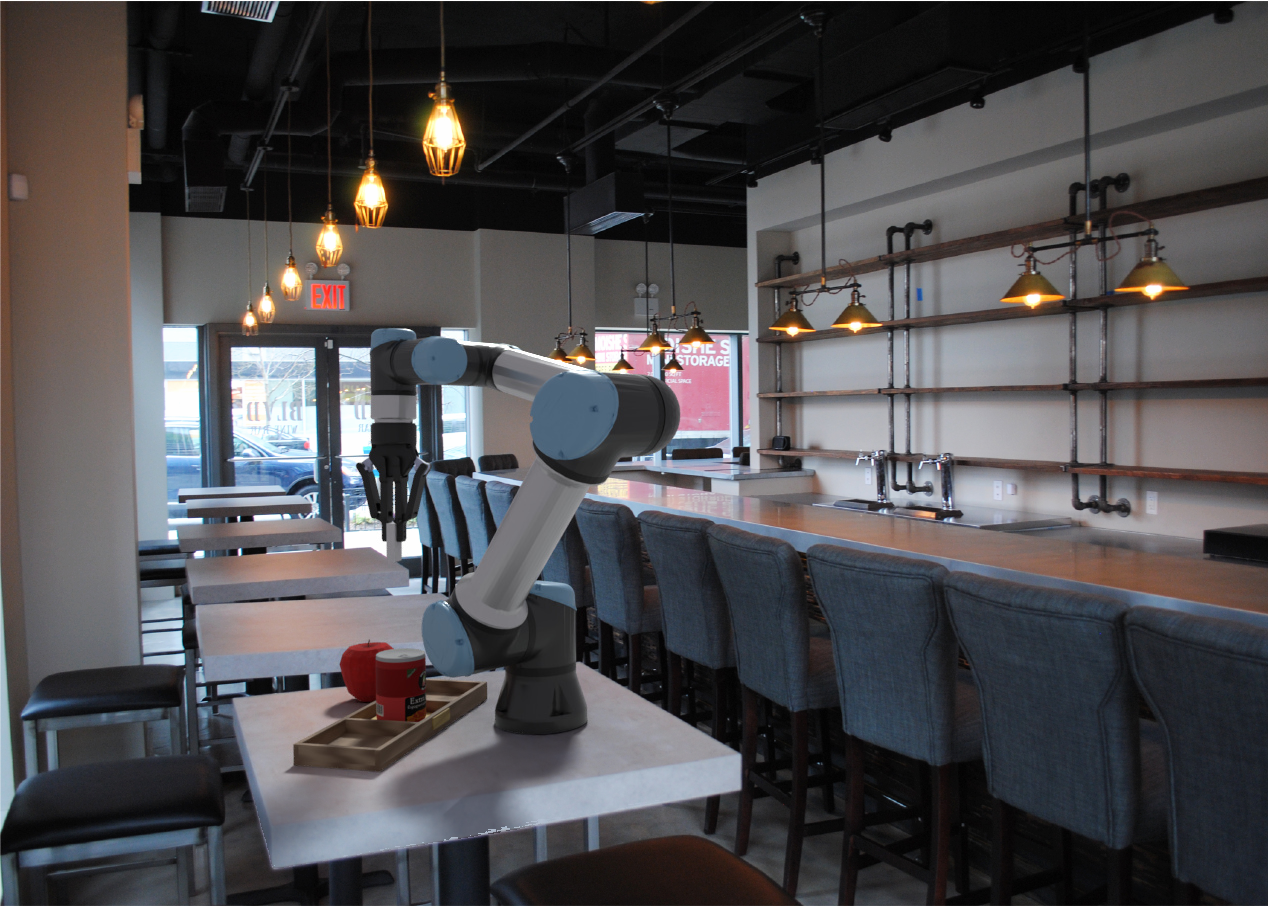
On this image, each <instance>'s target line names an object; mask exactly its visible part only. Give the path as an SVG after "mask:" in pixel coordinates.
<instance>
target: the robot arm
mask: <svg viewBox="0 0 1268 906" xmlns="http://www.w3.org/2000/svg"><path fill="white" fill-rule="evenodd" d="M370 337H371V338H370V349H369V367H370V368H369V369H370V370H369V371H370V374H369V375H370V378H369V379H370V419H372V420H374V422H371V424H370V444H371V449H370V451H369V453H368V457H367V458H366V459H364V460H363V461H361V462H357V463H356V464H355V468H356V470H357V472H358V473H359V475H360V476H361V480H362V486H363V489H364V493H365V498H366V502H367V506H368V510H369V511H368V512H369V516H370V518H371V519H372V520H374V519H375V520H378V521H379V522H380V524H381V541H382V542H386V563H398V562H401V561H402V558H403V555H402V554H403V553H402V551H403V550H402V549H403V548H402V547H403V545H402V544H403V542H406V540H407V523H408V521H410V520H413V519H416V518H418V515H419V512H420V510H419V509H420V506H421V501H422V497H423V493H424V490H425V489H424V487H425V484H426V479H427V476H428V474H429V473H430V472H431V470H432V468H433V465H432V463H430V462H426V461H425V460H423V459H421V458H420V454H419V451H418V450H417V442H418V439H417V437H418V436H417V432H418V431H417V430H418V429H417V428H418V427H417V424H416V422H413V421H415V420H416V419H417V386H419V385H420V386H424V385H435V386H456V387H458V386H459V387H479V388H487V389H491V390H494V391H497V392H501V393H506V394H508V395H511V396H513V397H517V398H520V399H523V400H525V401H529V402H532V404H531V407H530V412H529V416H530V417H532V421H531V422H529V430H530V435H531V439H532V441H531V448H532V452H533V453H534V455H535V458H534V460H533V462H532V464H531V465H530V468H529V470H528V471H527V473H526V475H525V476H524V479H523V481H522V483H521V485H520V486H519V488H518V490H517V492H516V493H515V496H513V497H514V498H513V499H512V502H511V503H510V505H509V507H508V509H507V510H506V513H505V514H504V516H503V518H502V520H501V522H500V523H499V526H498V528H497V529H496V532H495V533H494V535H493V537H492V538H491V541H490V543H489V545H488V547H487V548H486V550H485V551H484V554H483V555H482V557H481V559H480V562H479V563H478V565H477V567H476V569H475V570H474V572H468V573H466V574H465V575H463V576H462V577H461V578H460V579H458V581H457V583H456V585H455V587H454V588H453V591H452V592H451V594H450V596H449V597H448V598H447V599H445V600H442V599H438V600H436V601H433V602H432V603H430V604H429V605H428V606H427V607H426V608H425V610H424V612H423V616H422V619H421V630H420V631H421V637H422V642H423V643H422V644H423V647H424V648H423V649H424V652H425V655H427V656H426V657H427V658H428V660H429V662H430V663H431V666H433V668H434V669H435V670H436V671H437V672H438V673H439V674H441V675H442V676H445V677H447V678H448V677H449V678H450V679H451V678H454V679H455V678H458V677H459V678H460V677H467V678H468V677H470V676H472V675H476V674H477V675H478V674H480V673H484V672H489V671H492V670H497V669H500V668H505V669H504V678H503V680H502V681H503V682H502V684H501V685H502V686H501V689H500V692H499V693H498V699H497V702H496V705H495V707H494V724H495V726H496V727H497V728H499V729H500V730H503V731H506V732H508V733H509V732H510V733H516V734H521V735H522V734H524V735H547V734H556V733H562V732H563V733H564V732H568V731H571V730H574V729H577V728H580V727H582V726H584V725H585V724H586V723H587V722H588V704H587V701H586V698H585V696H584V692H583V689H582V687H581V683H580V681H579V677H578V674H577V610H578V609H577V607H576V595H575V594H576V593H575V590H574V589H573V587H572V586H571V585H569V584H567V583H563V582H556V581H547V580H537V579H538V578H539V577H540V575H541V573H542V572H543V570H544V567H546V564H547V563H548V561H549V559H550V557H551V556H552V555H553V554H552V553H554V550H555V549H556V547H557V545H558V544H559V542H560V540H561V538H562V537H563V535H564V533H565V532H566V529H567V528H568V526H569V524H570V522H571V521H572V519H573V518H574V515H576V514H575V513H576V512H577V511H578V508H579V506H580V505H581V504H582V502H583V500H584V498H585V496H586V495H587V493H588V492H589V489H590V488H591V487H597V486H601V485H603V484H604V483H605V482H606V481H607V480H608V479H609V476H610V475H611V473H612V472H613V470H614V468H615V466H616V464H617V463H618V462H619V460H620V459H621V458H637V457H639V458H640V457H647V456H650V455H653V454H656V453H658V452H659V451H661V450H663V449H664V448H666V446H667V445H669V444H670V443H671V441H672V440H673V439H674V437H675V436H676V434H677V432H678V429H679V426H680V422H681V407H680V402H679V400H678V398H677V395H676V393H675V392H674V391H673V389H672V388H671V387H670V386H669V385H668V384H667V383H666V382H665V381H663V380H661V379H660V378H657V377H654V376H651V375H648V374H640V373H628V372H606V371H604V372H603V371H599V370H595V369H589V368H585V367H581V366H578V365H573V364H570V363H566V362H562V361H559V360H556V359H553V358H549V357H544V356H541V355H537V354H534V353H530V352H527V351H523V350H522V349H521V348H519V347H518V346H516V345H510V344H507V343H501V342H498V343H492V342H491V343H489V342H476V341H468V340H458V339H457V340H456V339H455V338H453V337H452V336H451V337H450V336H442V335H440V336H437V335H432V336H429V337H422V338H417V334H416V332H415V331H414V330H411V329H408V328H395V327H393V328H391V327H388V328H378V329H374V331H373V332H372V333H371V335H370ZM413 468H414V474H413V477H412V478H413V479H412V482H411V487H410V491H409V495H408V482H409V476H410V475H409V474H410V472H411V470H412V469H413ZM374 469H375V470H376V471H377V472H378V481H379V483H380V484H379V485H380V488H379V487H378V483H377V480H376V476H375V473H374ZM379 489H380V491H379ZM379 492H380V493H379Z"/></svg>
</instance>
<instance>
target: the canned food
mask: <svg viewBox="0 0 1268 906" xmlns="http://www.w3.org/2000/svg"><path fill="white" fill-rule="evenodd" d="M426 657H427V656H426V651H425V650H422V649H419V648H412V647H411V648H404V647H403V648H402V647H401V648H394V649H391V650H385V651H382V652H379V653H377V654H376V717H377V720H391V721H407V722H420V721H421V720H423V719H425V717H426V679H427V663H426V662H427V661H426V660H427V659H426Z"/></svg>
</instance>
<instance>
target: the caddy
mask: <svg viewBox="0 0 1268 906" xmlns="http://www.w3.org/2000/svg"><path fill="white" fill-rule="evenodd" d="M487 699H488V681H477V680H460V679H459V680H458V679H457V680H456V679H455V680H454V679H438V678H426V717H425V719H423V720H421V721H420V722H407V721H391V720H377V717H376V701H371V702H370V703H369V704H367V705H365V706H363V707H361V708H358V709H357V710H355V711H353V712H352V713H350V714H348V715H346V716H344V717H341V718H340V719H338V720H337V721H334V722H332V723H330V724H329V725H326V727H323V728H321V729H319V730H318V731H316V732H314V733H312V734H310V735H308V736H306V737H304V738H303V739H301V740H299V741H297V742H295V743H293V744H292V745H293V748H292V750H293V751H292V752H293V766H301V767H312V768H314V767H315V768H325V769H326V768H327V769H340V770H350V771H351V770H353V771H364V772H365V771H367V772H368V771H369V772H376V773H377V772H382V771H384V770H386V769H387V768H388V767H389V766H391V765H392V764H394V763H395V762H396V761H398V760H399V759H401V758H402V757H404V756H406V755H407V754H408V753H410V752H411V751H413V750H414V749H416V748H417V747H419V746H420V745H421V744H423V743H424V742H427V740H429V739H430V738H432V737H433V736H435V735H437V734H438V733H439V732H440V731H443V729H445V728H446V727H448V726H449V725H451V724H452V723H454V722H455V721H457V720H458V719H459V718H461V717H463V716H464V715H466V714H467V713H469V712H470V711H471V710H473V709H474V708H476V707H477V706H479V705H480V704H482V703H483V702H485V701H486V700H487Z"/></svg>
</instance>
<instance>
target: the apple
mask: <svg viewBox="0 0 1268 906" xmlns="http://www.w3.org/2000/svg"><path fill="white" fill-rule="evenodd" d="M370 641H371V640H370V639H368V642H364V643H358V644H353V645H351V646H348V647H347V648H346V649H345V650H344V651H343V653H342V655H341V658H340V661H339V667H340V672H341V675H342V680H343V682H344V685H345V688H346V690H347V692H348V694H350V695H351V696H352V698H355V699H356V700H357V701H359V702H364V703H365V702H368V703H369V702H370V703H372V702H374V701H376V654H377V653H379V652H382V651H385V650H391V649H395V648H394V647H392V646H391V645H390V643H388V642H381V641H380V642H379V641H376V642H370Z"/></svg>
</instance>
